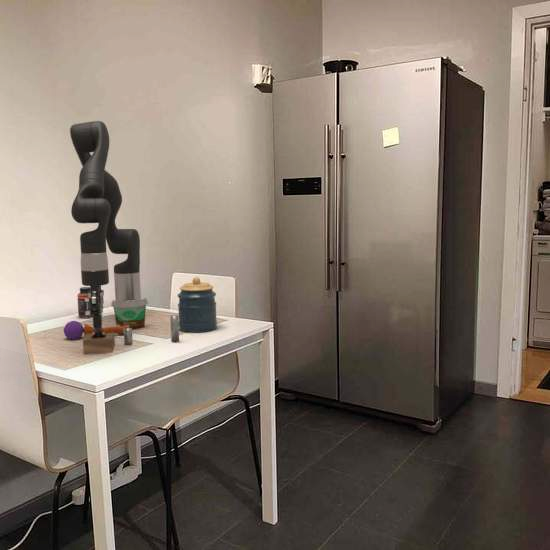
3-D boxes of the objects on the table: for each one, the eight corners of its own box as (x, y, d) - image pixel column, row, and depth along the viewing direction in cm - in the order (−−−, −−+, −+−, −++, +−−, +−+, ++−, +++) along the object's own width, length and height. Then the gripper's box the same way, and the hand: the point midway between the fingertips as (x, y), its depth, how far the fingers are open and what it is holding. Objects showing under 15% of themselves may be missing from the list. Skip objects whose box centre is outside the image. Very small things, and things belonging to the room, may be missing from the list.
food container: (115, 332, 183) (113, 302, 182) (112, 328, 189) (110, 299, 188) (152, 328, 188) (150, 299, 187) (148, 324, 194) (147, 296, 193)
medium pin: (171, 340, 171) (170, 315, 170) (179, 340, 172) (178, 315, 170) (171, 342, 169) (170, 317, 168) (179, 342, 169) (178, 316, 168)
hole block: (87, 347, 165) (86, 334, 164) (114, 345, 167) (114, 332, 166) (83, 354, 157) (82, 340, 157) (112, 352, 159) (111, 338, 158)
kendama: (129, 325, 177) (62, 325, 171) (128, 342, 178) (62, 342, 173) (129, 318, 182) (64, 318, 177) (128, 334, 184) (64, 335, 178)
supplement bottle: (92, 318, 207) (90, 288, 205) (76, 318, 206) (74, 288, 205) (97, 315, 213) (95, 286, 211) (81, 315, 212) (79, 286, 211)
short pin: (124, 343, 168) (123, 327, 168) (132, 343, 169) (132, 327, 168) (124, 345, 166) (123, 329, 165) (132, 345, 166) (131, 329, 166)
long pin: (94, 337, 162) (92, 297, 161) (103, 337, 163) (101, 297, 161) (93, 339, 160) (91, 299, 158) (102, 339, 160) (100, 298, 159)
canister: (182, 334, 179) (180, 280, 177) (175, 326, 191) (173, 275, 189) (221, 331, 183) (219, 278, 181) (212, 323, 195) (211, 273, 193)
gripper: (84, 266, 165) (87, 322, 167) (77, 271, 151) (81, 333, 153) (110, 265, 166) (113, 321, 168) (105, 270, 153) (109, 331, 155)
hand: (98, 326), depth 161 cm, fingers closed on long pin, 2 cm apart
